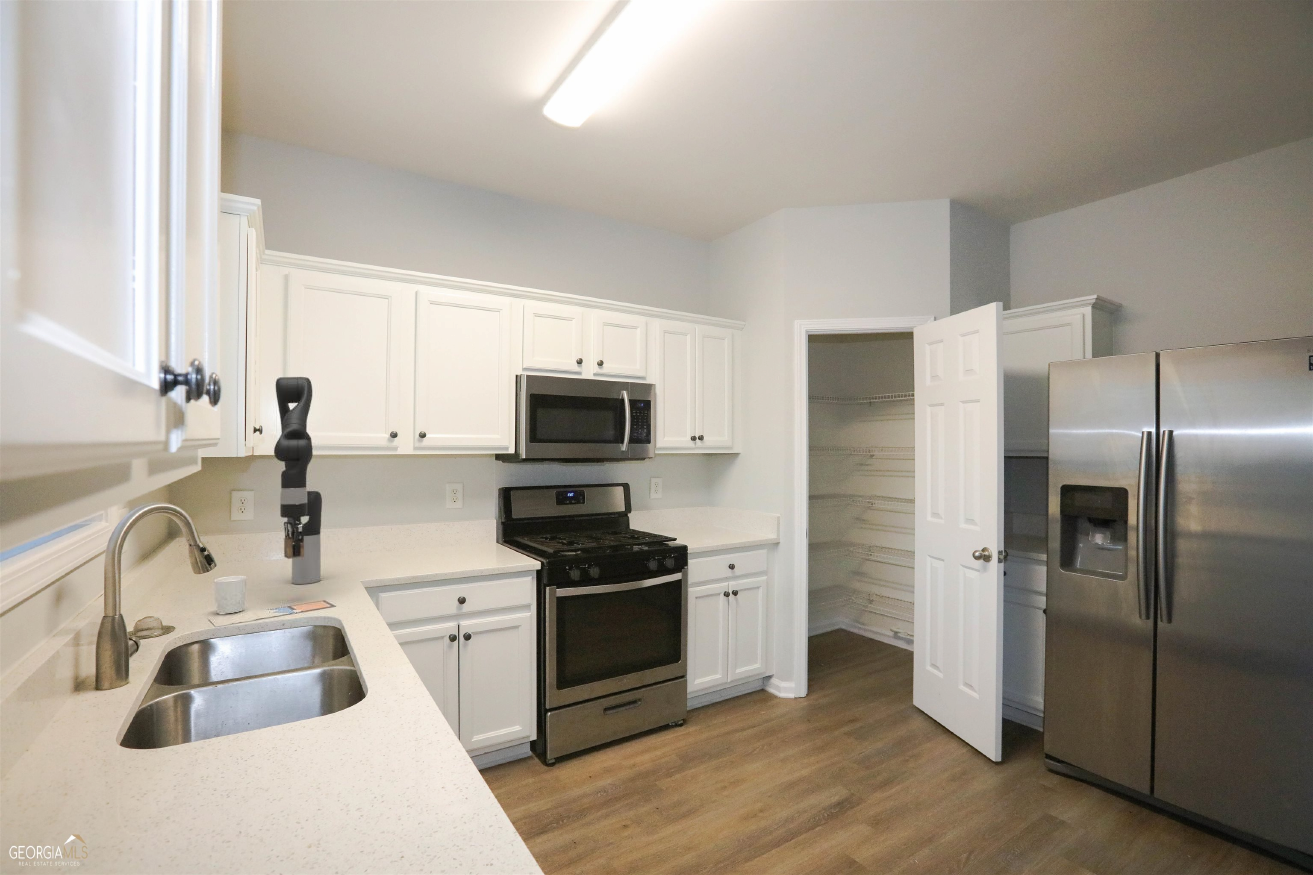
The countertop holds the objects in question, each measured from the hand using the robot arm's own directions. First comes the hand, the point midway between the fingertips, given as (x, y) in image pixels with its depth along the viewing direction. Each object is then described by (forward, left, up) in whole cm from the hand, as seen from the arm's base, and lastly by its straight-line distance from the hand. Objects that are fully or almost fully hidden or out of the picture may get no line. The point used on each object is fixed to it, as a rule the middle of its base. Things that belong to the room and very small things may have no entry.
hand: (294, 554), depth 202 cm
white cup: (0, -17, -15) cm, 23 cm away
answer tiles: (+11, -8, -15) cm, 20 cm away
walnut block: (0, 0, -1) cm, 1 cm away
